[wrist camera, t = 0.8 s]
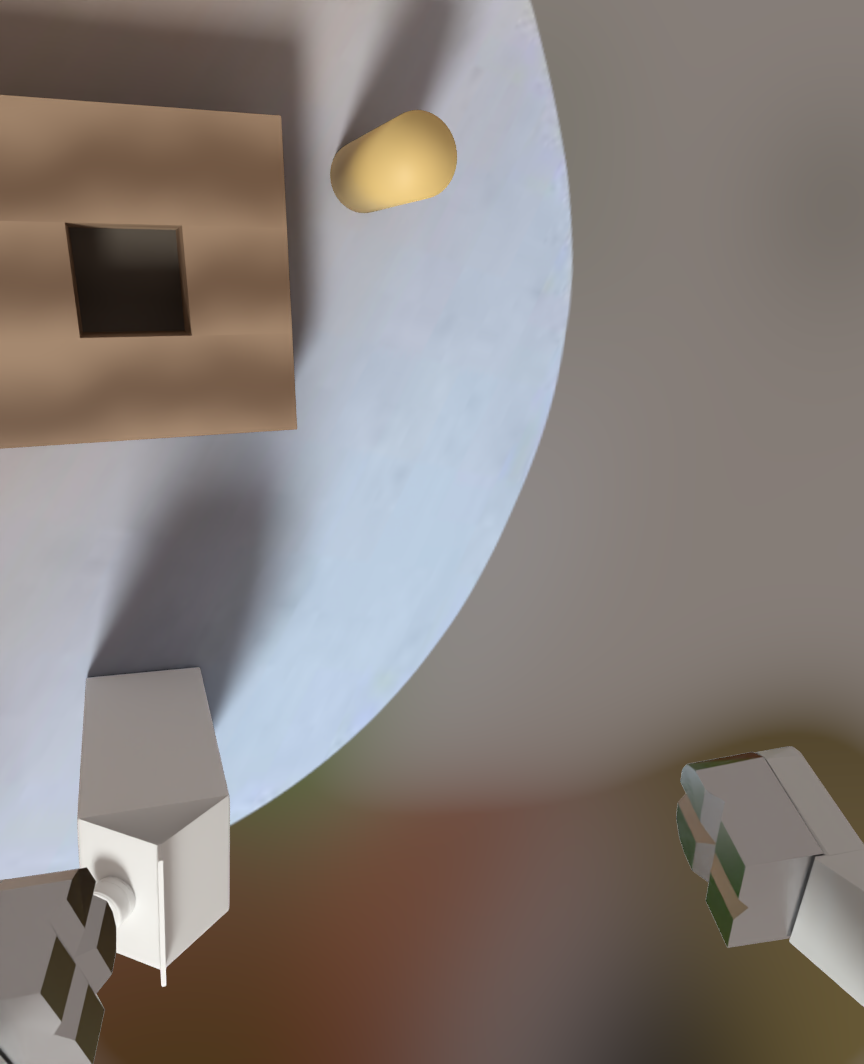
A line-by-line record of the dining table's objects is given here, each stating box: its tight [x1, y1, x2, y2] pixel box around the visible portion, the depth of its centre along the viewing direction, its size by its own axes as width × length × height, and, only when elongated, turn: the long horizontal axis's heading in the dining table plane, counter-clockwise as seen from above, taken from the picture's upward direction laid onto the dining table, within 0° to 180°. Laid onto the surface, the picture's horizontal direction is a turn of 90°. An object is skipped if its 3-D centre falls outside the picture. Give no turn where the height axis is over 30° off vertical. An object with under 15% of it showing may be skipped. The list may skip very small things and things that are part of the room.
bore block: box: [0, 95, 297, 449], centre depth 42 cm, size 16×16×6 cm
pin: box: [330, 110, 457, 213], centre depth 43 cm, size 4×4×10 cm
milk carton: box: [77, 667, 230, 987], centre depth 44 cm, size 7×7×19 cm
